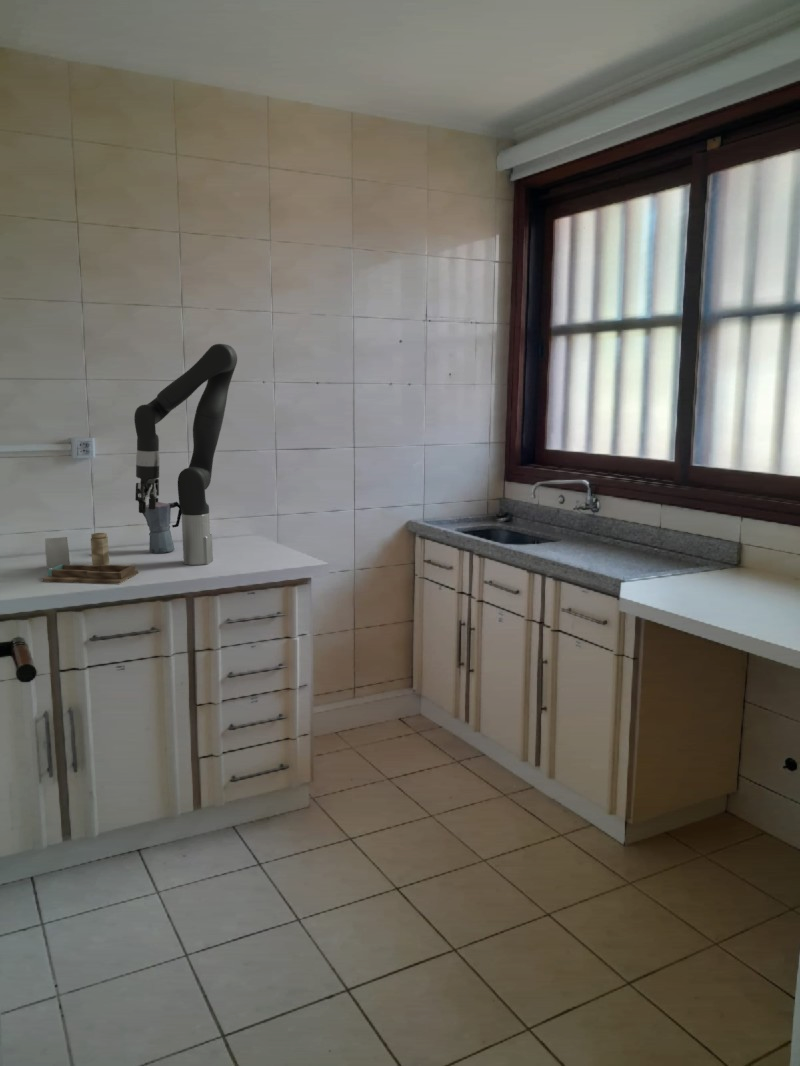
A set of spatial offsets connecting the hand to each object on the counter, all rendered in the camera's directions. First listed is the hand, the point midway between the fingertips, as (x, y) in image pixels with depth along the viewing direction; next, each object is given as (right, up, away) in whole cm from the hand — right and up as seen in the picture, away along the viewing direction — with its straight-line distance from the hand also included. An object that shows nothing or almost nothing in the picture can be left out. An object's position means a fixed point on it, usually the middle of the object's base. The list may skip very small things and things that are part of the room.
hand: (147, 511), depth 274 cm
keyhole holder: (-12, -22, -19) cm, 31 cm away
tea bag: (-29, -19, -4) cm, 35 cm away
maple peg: (-15, -19, -4) cm, 24 cm away
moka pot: (-1, -14, +22) cm, 26 cm away
